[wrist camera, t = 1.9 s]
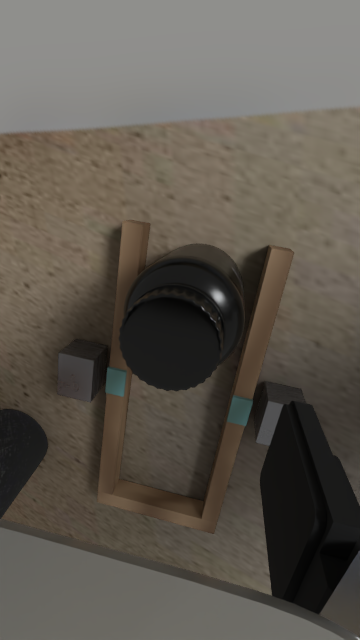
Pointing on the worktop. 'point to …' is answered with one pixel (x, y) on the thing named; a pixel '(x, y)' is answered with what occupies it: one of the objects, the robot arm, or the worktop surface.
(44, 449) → the travel mug
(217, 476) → the walnut rails
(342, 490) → the robot arm
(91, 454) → the worktop surface
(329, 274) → the worktop surface
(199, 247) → the supplement bottle
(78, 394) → the pivot blocks
